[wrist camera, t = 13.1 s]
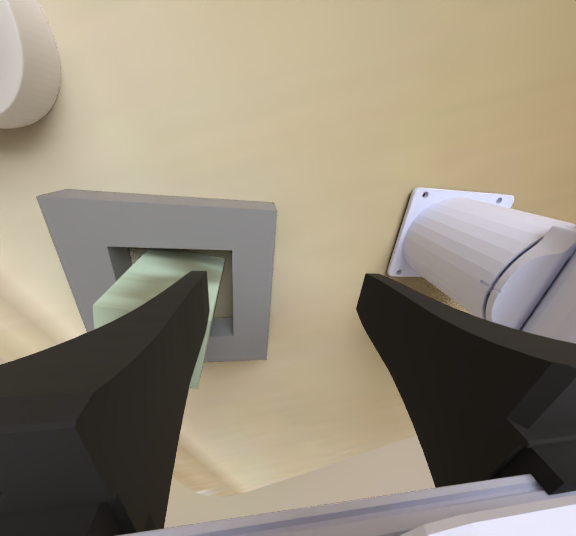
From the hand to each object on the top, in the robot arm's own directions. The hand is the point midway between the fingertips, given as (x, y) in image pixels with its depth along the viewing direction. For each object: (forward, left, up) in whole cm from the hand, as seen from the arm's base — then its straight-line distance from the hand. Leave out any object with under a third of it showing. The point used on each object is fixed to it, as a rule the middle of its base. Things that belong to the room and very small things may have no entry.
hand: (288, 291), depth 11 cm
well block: (+7, +5, -9) cm, 13 cm away
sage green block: (+7, +5, -10) cm, 13 cm away
